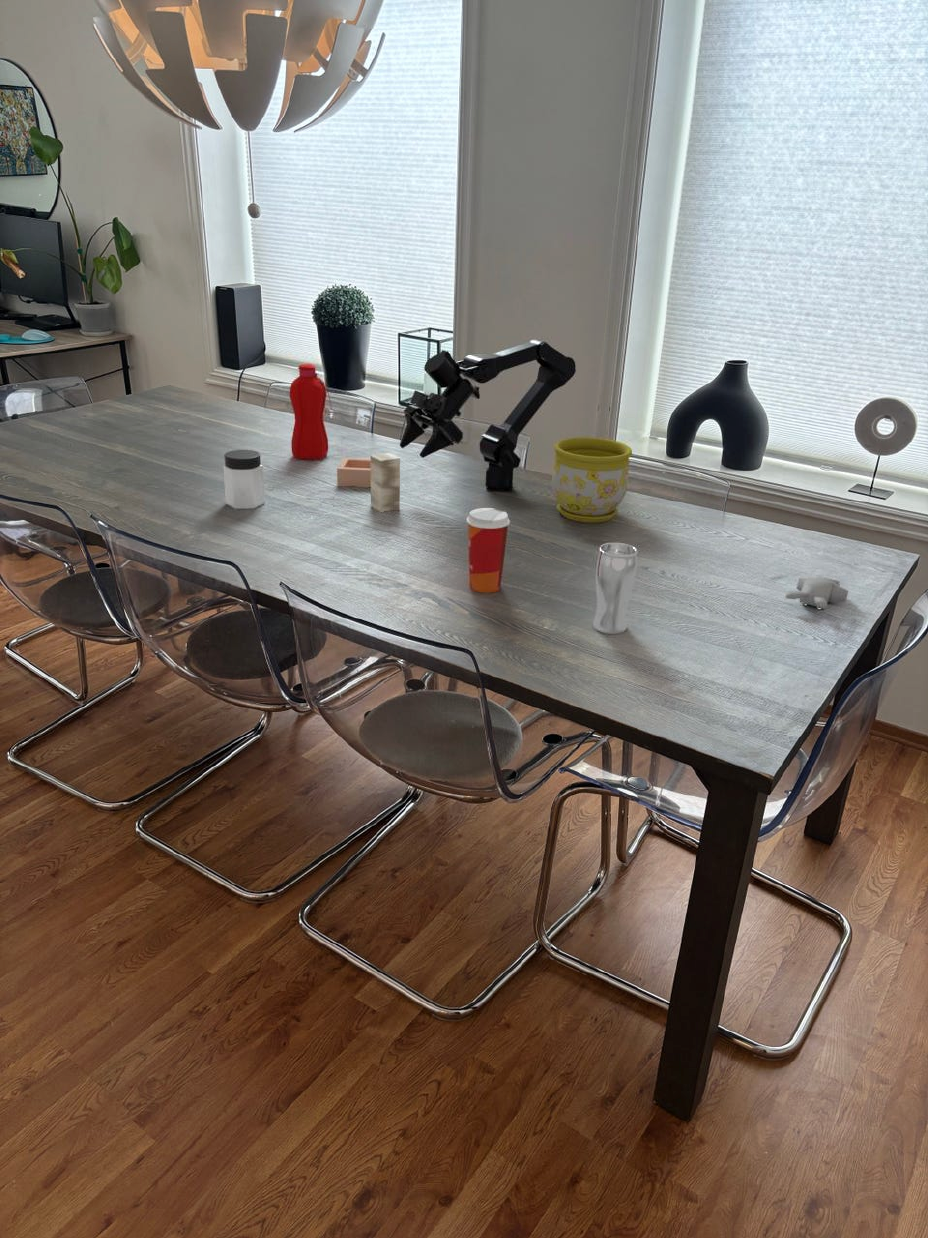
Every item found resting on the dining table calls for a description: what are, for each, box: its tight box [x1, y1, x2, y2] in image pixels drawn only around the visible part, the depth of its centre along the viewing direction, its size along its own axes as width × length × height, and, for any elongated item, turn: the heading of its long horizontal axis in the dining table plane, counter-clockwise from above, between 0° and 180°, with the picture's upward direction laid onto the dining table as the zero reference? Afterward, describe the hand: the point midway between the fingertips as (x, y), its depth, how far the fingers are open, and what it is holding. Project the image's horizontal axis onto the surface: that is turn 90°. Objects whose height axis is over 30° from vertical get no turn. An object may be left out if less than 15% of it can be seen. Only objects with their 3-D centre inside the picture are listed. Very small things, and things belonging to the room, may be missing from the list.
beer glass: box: [592, 542, 638, 635], centre depth 168 cm, size 7×7×15 cm
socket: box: [336, 457, 371, 488], centre depth 243 cm, size 10×10×4 cm
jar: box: [222, 449, 266, 510], centre depth 222 cm, size 9×8×12 cm
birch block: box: [370, 452, 401, 513], centre depth 223 cm, size 5×5×12 cm
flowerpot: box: [551, 436, 633, 524], centre depth 223 cm, size 18×18×16 cm
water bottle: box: [288, 363, 333, 461], centre depth 257 cm, size 9×11×25 cm
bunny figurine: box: [785, 575, 849, 610], centre depth 183 cm, size 10×5×15 cm
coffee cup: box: [466, 507, 511, 594], centre depth 182 cm, size 8×8×15 cm
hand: (410, 451), depth 224 cm, fingers open, 9 cm apart
